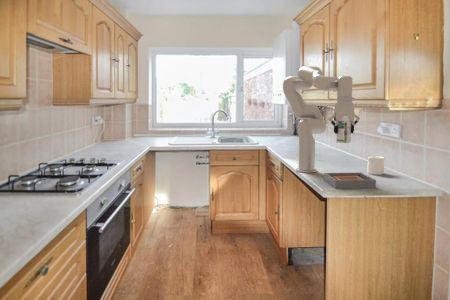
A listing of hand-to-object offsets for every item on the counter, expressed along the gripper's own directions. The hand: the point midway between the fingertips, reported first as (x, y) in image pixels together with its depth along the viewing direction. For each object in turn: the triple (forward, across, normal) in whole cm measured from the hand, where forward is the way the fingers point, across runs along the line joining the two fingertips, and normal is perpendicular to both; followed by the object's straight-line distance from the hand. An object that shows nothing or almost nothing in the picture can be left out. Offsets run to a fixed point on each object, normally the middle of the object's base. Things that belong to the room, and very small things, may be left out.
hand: (343, 133), depth 218 cm
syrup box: (+5, 0, 0) cm, 5 cm away
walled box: (+25, 0, +10) cm, 27 cm away
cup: (+25, -25, -18) cm, 40 cm away
